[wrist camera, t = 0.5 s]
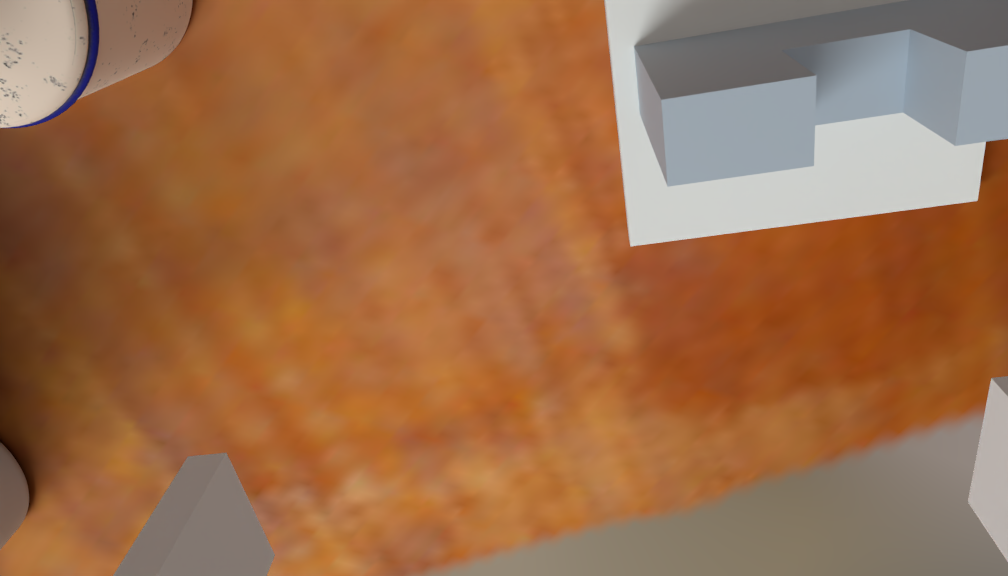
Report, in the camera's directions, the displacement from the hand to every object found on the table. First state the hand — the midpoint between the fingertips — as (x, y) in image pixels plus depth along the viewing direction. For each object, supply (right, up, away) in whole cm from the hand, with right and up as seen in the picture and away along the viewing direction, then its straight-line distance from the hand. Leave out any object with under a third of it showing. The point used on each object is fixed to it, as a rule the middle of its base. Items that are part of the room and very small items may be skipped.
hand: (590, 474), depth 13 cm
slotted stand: (+11, +14, +19) cm, 26 cm away
